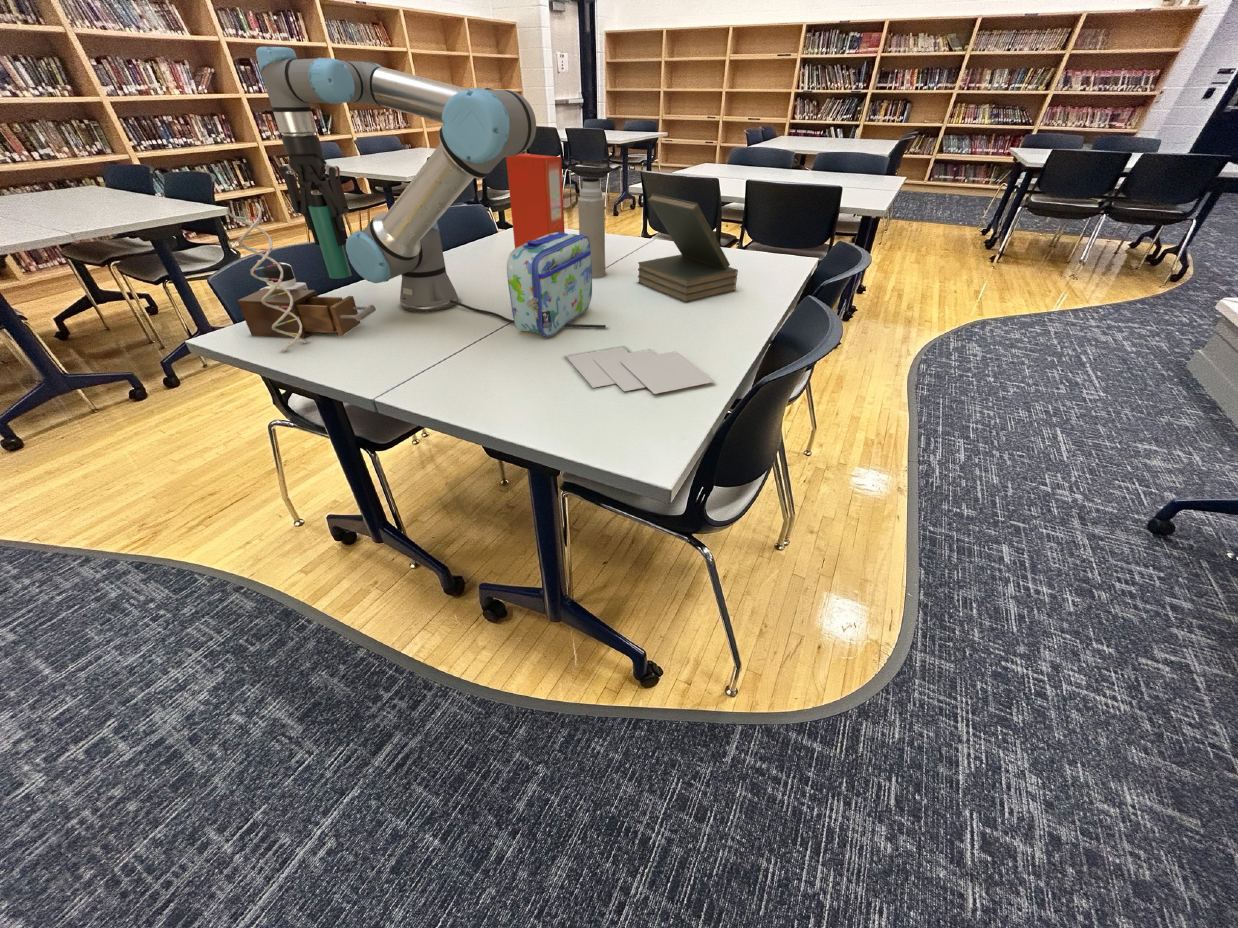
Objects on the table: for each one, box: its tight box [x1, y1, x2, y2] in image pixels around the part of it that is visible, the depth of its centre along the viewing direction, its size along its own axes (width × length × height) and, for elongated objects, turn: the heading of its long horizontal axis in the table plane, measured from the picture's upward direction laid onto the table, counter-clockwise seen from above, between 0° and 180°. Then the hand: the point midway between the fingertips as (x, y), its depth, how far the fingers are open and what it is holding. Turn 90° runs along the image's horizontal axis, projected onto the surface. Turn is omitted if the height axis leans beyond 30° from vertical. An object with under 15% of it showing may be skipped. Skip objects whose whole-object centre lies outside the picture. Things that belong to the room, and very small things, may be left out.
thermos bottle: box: [577, 176, 606, 279], centre depth 164 cm, size 8×8×28 cm
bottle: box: [308, 192, 352, 280], centre depth 131 cm, size 5×5×19 cm
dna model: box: [225, 202, 307, 353], centre depth 114 cm, size 7×6×30 cm
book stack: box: [637, 193, 739, 304], centre depth 154 cm, size 23×20×25 cm
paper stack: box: [565, 346, 717, 395], centre depth 112 cm, size 23×25×1 cm
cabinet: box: [237, 287, 319, 339], centre depth 129 cm, size 14×10×9 cm
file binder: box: [505, 153, 566, 249], centre depth 178 cm, size 8×17×32 cm, turn 51°
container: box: [259, 262, 309, 290], centre depth 136 cm, size 8×8×13 cm
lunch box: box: [506, 232, 593, 338], centre depth 130 cm, size 26×11×21 cm, turn 154°
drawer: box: [295, 295, 377, 336], centre depth 128 cm, size 18×8×7 cm, turn 84°
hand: (331, 244), depth 132 cm, fingers closed on bottle, 5 cm apart
